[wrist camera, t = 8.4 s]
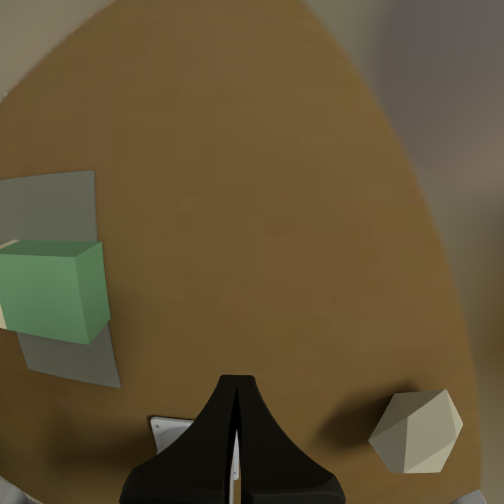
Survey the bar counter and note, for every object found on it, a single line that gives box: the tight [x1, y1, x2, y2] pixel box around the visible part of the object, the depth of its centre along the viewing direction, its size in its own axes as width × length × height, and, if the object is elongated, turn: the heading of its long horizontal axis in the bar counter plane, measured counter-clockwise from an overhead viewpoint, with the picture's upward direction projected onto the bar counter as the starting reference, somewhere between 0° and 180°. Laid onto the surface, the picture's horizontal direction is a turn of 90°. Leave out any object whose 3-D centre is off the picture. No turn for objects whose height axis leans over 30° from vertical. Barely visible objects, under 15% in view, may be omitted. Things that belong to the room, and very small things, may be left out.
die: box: [368, 389, 463, 473], centre depth 22 cm, size 8×9×10 cm
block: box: [0, 240, 111, 345], centre depth 19 cm, size 6×4×9 cm
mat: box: [0, 170, 121, 388], centre depth 21 cm, size 18×11×1 cm, turn 178°
